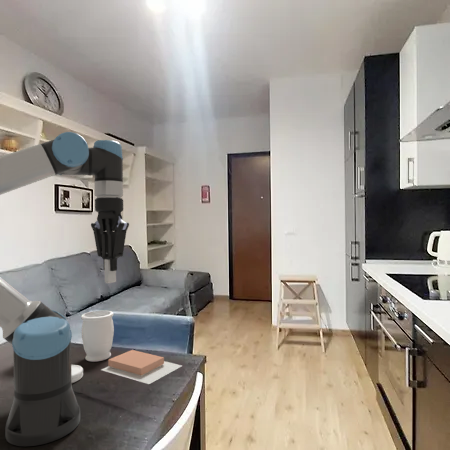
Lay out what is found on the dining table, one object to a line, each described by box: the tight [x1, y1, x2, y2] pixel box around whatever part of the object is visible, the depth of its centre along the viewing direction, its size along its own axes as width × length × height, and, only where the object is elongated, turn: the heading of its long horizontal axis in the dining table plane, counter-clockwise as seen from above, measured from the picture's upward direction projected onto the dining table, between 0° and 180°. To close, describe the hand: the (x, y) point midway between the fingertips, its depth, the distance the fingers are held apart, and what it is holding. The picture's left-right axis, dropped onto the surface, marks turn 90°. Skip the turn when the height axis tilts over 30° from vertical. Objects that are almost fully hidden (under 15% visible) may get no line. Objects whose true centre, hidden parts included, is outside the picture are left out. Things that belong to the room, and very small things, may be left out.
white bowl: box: [71, 364, 84, 384], centre depth 106 cm, size 10×10×4 cm
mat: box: [100, 360, 183, 385], centre depth 113 cm, size 20×15×1 cm
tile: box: [107, 349, 165, 376], centre depth 114 cm, size 2×10×14 cm
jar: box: [81, 310, 115, 363], centre depth 125 cm, size 11×10×15 cm
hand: (110, 282), depth 101 cm, fingers closed
